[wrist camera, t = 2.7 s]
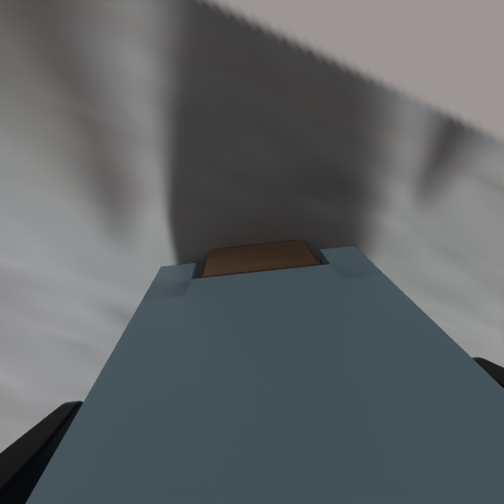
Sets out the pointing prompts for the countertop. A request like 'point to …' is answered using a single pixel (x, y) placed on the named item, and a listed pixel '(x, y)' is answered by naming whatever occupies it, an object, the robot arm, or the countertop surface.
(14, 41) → the countertop surface
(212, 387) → the block
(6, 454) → the robot arm
